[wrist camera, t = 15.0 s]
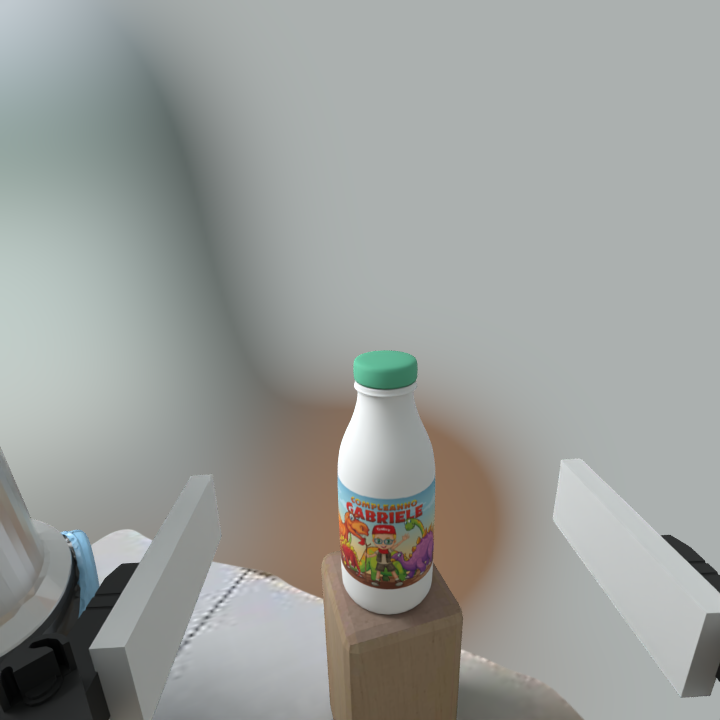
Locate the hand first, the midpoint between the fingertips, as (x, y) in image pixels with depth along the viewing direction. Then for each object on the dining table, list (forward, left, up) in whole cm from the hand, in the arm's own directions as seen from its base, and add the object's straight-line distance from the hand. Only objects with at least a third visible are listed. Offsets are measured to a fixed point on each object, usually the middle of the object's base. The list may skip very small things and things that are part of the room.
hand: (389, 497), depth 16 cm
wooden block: (-10, +12, -39) cm, 42 cm away
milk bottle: (-10, +12, -19) cm, 25 cm away
